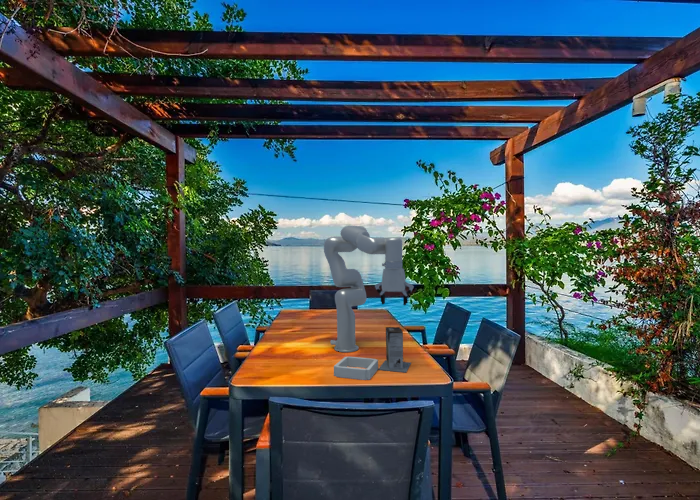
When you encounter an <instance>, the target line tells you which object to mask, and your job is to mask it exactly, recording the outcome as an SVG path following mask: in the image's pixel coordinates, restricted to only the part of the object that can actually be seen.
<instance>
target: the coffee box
mask: <svg viewBox="0 0 700 500" xmlns="http://www.w3.org/2000/svg"><path fill="white" fill-rule="evenodd" d="M385 355H386V356H385V360H386V363H387V365H388V367H389V369H403V362H404V332H403V330H402V329H401V327H399V326H397V327H394V326H387V327H386V326H385Z"/></svg>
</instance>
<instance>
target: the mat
mask: <svg viewBox="0 0 700 500" xmlns="http://www.w3.org/2000/svg"><path fill="white" fill-rule="evenodd" d="M411 364H412V362H409V361H403V369H389V367H388V365H387V363H386V359H385V360H384V361H383V362H382V364H381V365H380V366H379V367H378V370H377V371H384V372H394V373H396V372H397V373H403V374H404V373H407V372H408V370H409V368H410V367H411Z"/></svg>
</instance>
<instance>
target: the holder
mask: <svg viewBox="0 0 700 500" xmlns="http://www.w3.org/2000/svg"><path fill="white" fill-rule="evenodd" d="M378 369H379V359H376V358H370V357H359V356H358V357H357V356H344V357H342V359H340V360H339V361H338V362H337V363H336V364H334V366H333V377H337V378H343V379H353V380H361V381H362V380H363V381H366V380H367V381H371V379H372V378H373V376H374V375H375V374H376V373H377V371H379V370H378Z"/></svg>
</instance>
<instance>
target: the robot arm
mask: <svg viewBox="0 0 700 500" xmlns="http://www.w3.org/2000/svg"><path fill="white" fill-rule="evenodd" d="M357 249H358V251H360V252H363V253H365V254H367V255H385V256H384V260H385V261H384V262H382V263H381V266H382V267H384V268H383V270H382V277H381V281H380V282H378V283H377V284H374V288H375V290H376V291H377V293H378V294H379V296H380V302H381V305H385V304H386V294H385V293H386V292H388V293H402V294H403V295H404V296H403V306H406V305H407V304H408V302H409V301H408V300H409V299H408V296H409V295H410V294H411V293H412V291H413V289H414V287H415V286H414V285H413V284H411V283H410V282H409V283H408V282H407V281H406V273H405V268H403V240H402V238H400V237H371V236H370V232H368V230H367V229H366V228H365V227H364V226H361V225H346V226H344V227H343V228H341V231H340V236H330V237H327V238H326V239H325V240H324V244H323V252H324V256H325V258H326V259H325V260H327V263H328V265H329V269H330V275H331V278H332V281H333V284H334V286H335V287H337V288H342V289H339V290H337V291H336V293H334V303H335V306H336V327H337V328H336V331H337V332H336V336H337V339H336V340H335V339H331V340H330V346H331V345H334V350H335V351H336V352H338V351H339V352H338V353H352V352H357V351H358V350H359V346H358V345H357V344H356V314H355V311H354V310H353V308H352V307H358V306H362V305H364V304H365V303H366V301H367V292H366V289H365V288H366V287H365V285H364V282H363V278H362V275H361V273H360V272H359V271H358V269H355V268H347V266H346V262H345V260H344V259H343V257H342V255H340V254H339V253H352V252H354V251H356V250H357ZM380 286H381V288H380ZM407 287H408V290H406V289H407Z"/></svg>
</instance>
